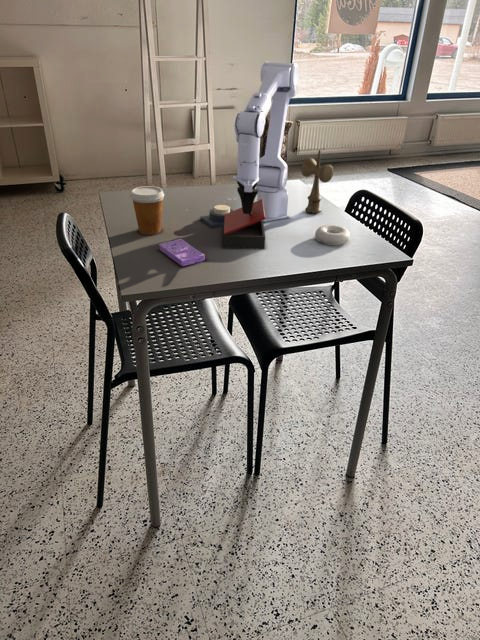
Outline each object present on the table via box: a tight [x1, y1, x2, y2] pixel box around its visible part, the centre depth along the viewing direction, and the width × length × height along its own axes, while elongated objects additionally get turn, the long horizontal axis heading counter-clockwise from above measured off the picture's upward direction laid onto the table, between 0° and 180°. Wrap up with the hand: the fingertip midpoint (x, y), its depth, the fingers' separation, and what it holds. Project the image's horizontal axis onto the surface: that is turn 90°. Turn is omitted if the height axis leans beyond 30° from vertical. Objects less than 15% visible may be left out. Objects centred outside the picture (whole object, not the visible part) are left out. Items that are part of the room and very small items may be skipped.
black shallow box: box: [223, 220, 266, 250], centre depth 142 cm, size 11×15×4 cm
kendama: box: [300, 149, 334, 214], centre depth 159 cm, size 6×10×20 cm, turn 35°
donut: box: [314, 224, 351, 246], centre depth 143 cm, size 10×4×10 cm
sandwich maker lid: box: [223, 199, 265, 236], centre depth 139 cm, size 12×15×4 cm
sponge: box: [158, 238, 206, 267], centre depth 131 cm, size 7×13×2 cm, turn 35°
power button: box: [213, 204, 231, 215], centre depth 153 cm, size 5×5×2 cm
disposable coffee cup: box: [130, 185, 165, 236], centre depth 143 cm, size 10×10×12 cm
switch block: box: [200, 208, 235, 228], centre depth 154 cm, size 11×8×3 cm
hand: (246, 209), depth 139 cm, fingers closed on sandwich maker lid, 5 cm apart
